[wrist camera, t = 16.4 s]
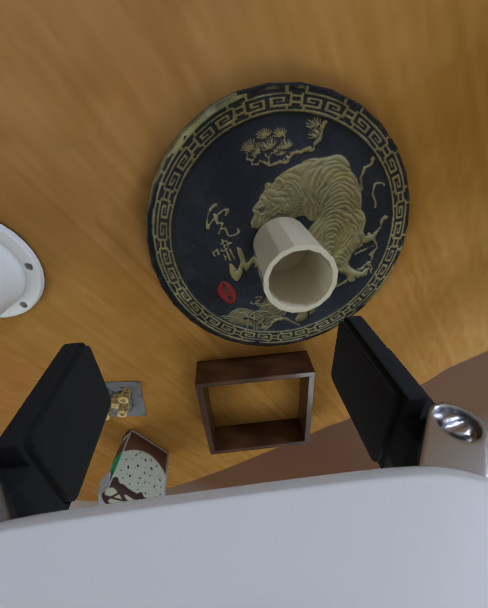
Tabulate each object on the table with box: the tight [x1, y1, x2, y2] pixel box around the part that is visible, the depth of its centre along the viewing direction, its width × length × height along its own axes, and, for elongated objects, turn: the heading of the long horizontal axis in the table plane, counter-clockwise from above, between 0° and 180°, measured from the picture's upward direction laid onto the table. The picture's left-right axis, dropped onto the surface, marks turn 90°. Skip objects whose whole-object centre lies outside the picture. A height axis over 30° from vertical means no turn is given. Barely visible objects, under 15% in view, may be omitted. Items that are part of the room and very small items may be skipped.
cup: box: [253, 217, 338, 313], centre depth 29 cm, size 6×6×9 cm
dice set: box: [106, 387, 133, 420], centre depth 45 cm, size 5×5×2 cm
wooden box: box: [195, 351, 315, 454], centre depth 46 cm, size 17×17×4 cm
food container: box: [98, 429, 169, 505], centre depth 49 cm, size 12×6×10 cm, turn 35°
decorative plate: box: [146, 82, 410, 346], centre depth 34 cm, size 30×2×30 cm
